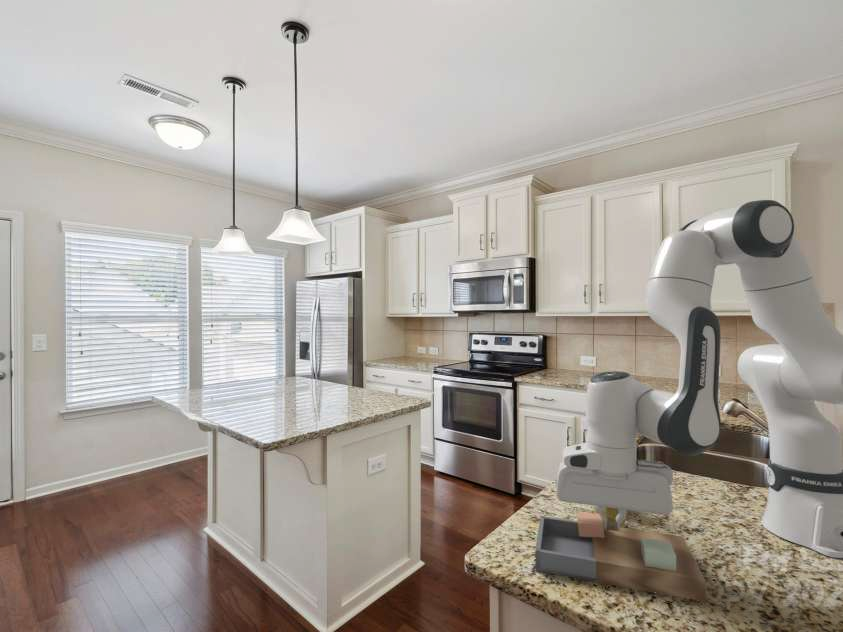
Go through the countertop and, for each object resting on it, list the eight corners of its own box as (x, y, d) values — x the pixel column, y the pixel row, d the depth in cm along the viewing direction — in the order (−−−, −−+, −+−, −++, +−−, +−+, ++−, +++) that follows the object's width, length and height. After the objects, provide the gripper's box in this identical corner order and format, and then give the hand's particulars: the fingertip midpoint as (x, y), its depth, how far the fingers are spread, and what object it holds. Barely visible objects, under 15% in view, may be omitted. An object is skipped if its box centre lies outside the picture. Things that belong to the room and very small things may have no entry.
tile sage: (669, 556, 72) (669, 541, 72) (676, 571, 68) (676, 555, 68) (641, 551, 73) (640, 537, 73) (645, 565, 69) (645, 550, 69)
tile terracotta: (602, 526, 82) (601, 513, 82) (604, 537, 78) (603, 524, 78) (578, 525, 83) (577, 512, 83) (579, 536, 79) (577, 523, 79)
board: (682, 554, 78) (682, 536, 78) (705, 602, 65) (705, 580, 65) (591, 540, 84) (591, 523, 84) (596, 581, 70) (595, 561, 70)
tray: (591, 540, 84) (591, 523, 84) (596, 581, 70) (595, 561, 70) (540, 532, 87) (540, 515, 87) (535, 570, 74) (535, 550, 74)
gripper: (668, 457, 79) (669, 530, 79) (556, 447, 86) (556, 513, 85) (677, 468, 73) (678, 547, 73) (555, 456, 80) (556, 528, 79)
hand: (611, 529), depth 79 cm, fingers closed
